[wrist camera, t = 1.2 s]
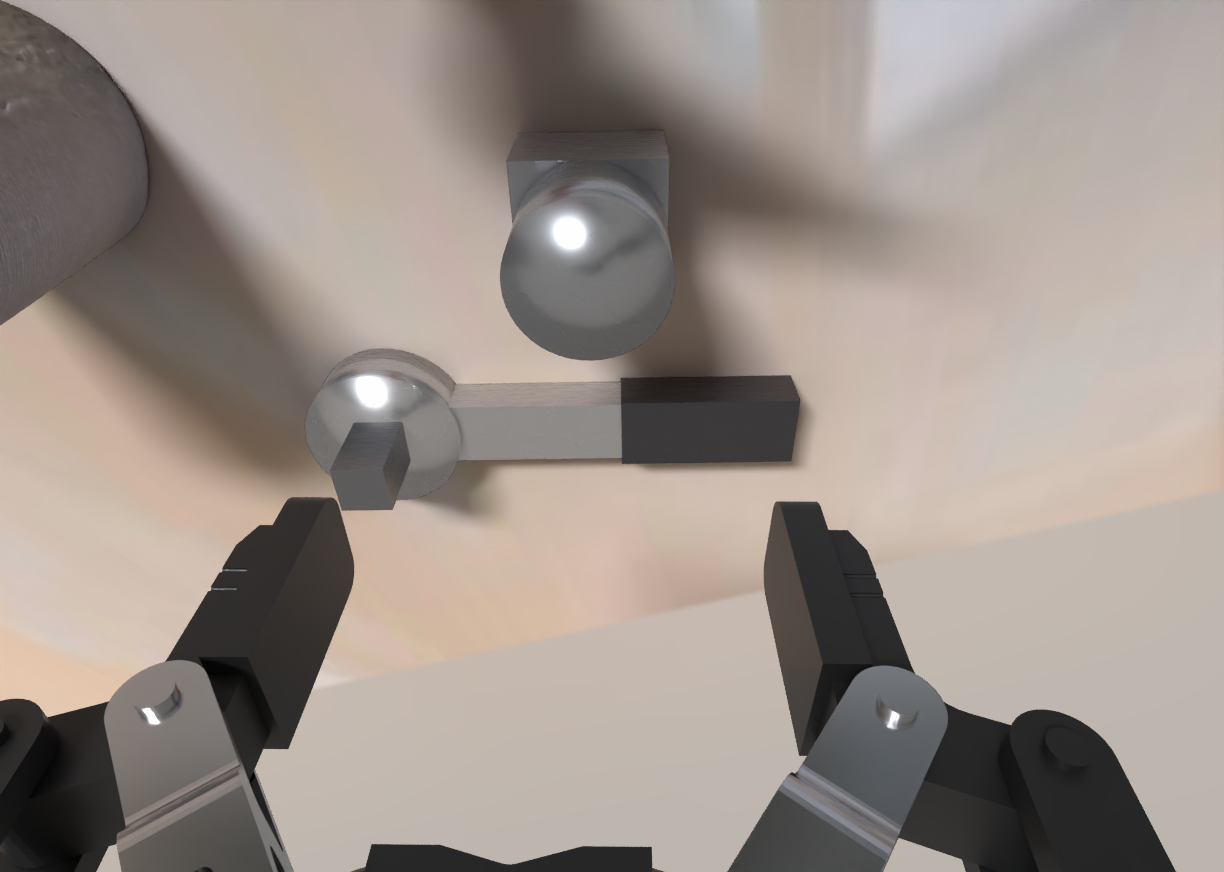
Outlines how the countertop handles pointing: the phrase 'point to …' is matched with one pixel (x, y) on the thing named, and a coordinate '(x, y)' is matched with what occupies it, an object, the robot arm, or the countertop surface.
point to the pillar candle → (60, 160)
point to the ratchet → (528, 423)
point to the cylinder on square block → (588, 240)
